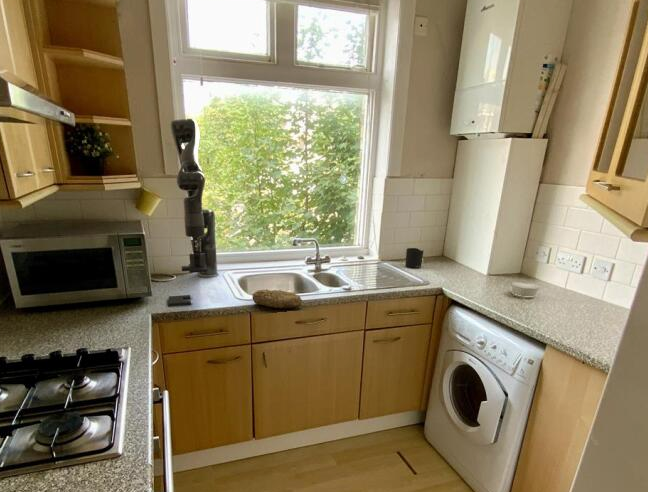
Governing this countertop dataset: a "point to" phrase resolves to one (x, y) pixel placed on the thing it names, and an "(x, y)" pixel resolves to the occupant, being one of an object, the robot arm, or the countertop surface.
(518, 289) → the ramekin
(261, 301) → the brown rounded lump
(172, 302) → the base pad
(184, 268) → the joining pad
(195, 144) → the robot arm
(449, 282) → the countertop surface
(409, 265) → the pen holder
